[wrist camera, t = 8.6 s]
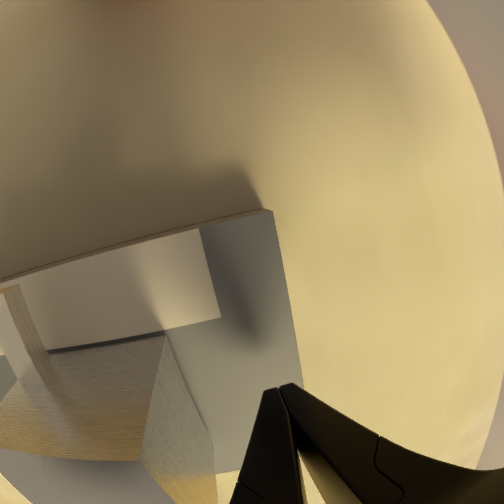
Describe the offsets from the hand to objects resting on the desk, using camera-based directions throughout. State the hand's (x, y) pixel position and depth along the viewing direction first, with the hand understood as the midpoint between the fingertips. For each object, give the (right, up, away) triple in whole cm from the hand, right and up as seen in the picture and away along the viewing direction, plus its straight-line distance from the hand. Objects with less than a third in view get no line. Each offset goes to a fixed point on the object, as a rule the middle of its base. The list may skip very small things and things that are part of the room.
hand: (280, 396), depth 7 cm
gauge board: (-14, -3, +1) cm, 14 cm away
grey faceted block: (-5, 0, 0) cm, 5 cm away
